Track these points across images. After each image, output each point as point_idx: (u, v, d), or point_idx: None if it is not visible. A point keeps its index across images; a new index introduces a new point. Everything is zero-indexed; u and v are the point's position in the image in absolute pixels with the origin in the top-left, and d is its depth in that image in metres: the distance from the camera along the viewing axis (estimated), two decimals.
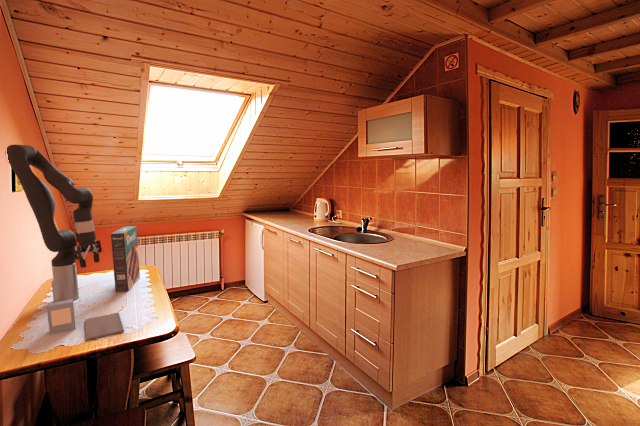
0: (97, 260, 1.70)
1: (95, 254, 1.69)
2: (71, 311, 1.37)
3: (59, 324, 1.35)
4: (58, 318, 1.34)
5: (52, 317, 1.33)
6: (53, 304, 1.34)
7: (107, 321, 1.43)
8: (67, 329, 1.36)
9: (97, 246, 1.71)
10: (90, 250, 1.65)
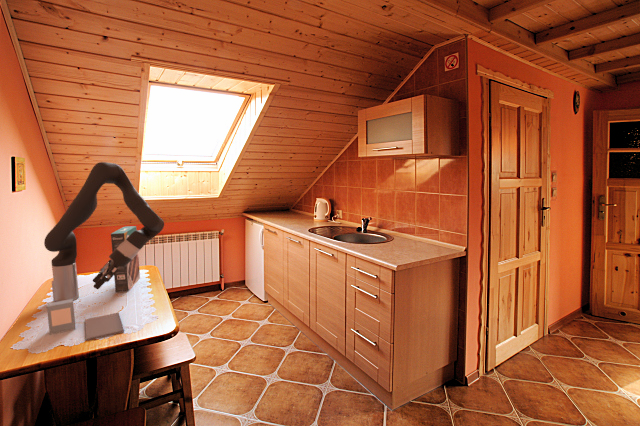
0: (97, 281, 1.46)
1: (101, 274, 1.46)
2: (71, 311, 1.37)
3: (59, 324, 1.35)
4: (58, 318, 1.34)
5: (52, 317, 1.33)
6: (53, 304, 1.34)
7: (107, 321, 1.43)
8: (67, 329, 1.36)
9: None
10: None
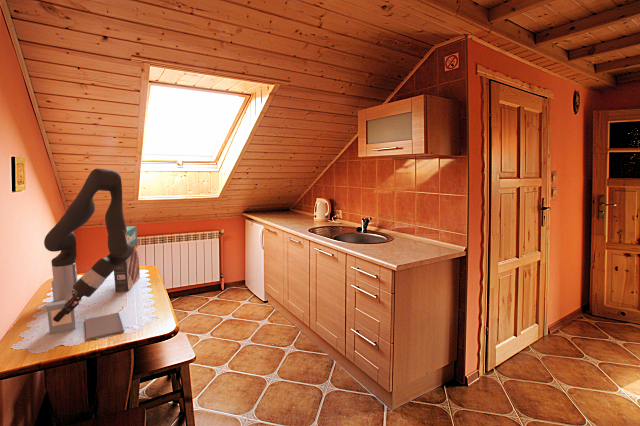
0: None
1: None
2: (71, 311, 1.37)
3: (59, 324, 1.35)
4: None
5: (52, 317, 1.33)
6: (53, 304, 1.34)
7: (107, 321, 1.43)
8: (67, 329, 1.37)
9: None
10: None
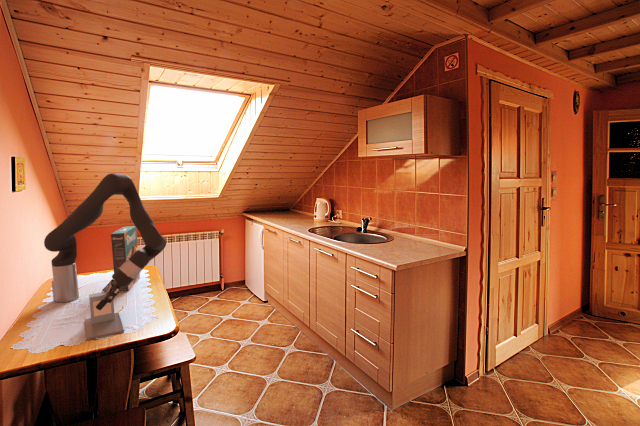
0: None
1: None
2: (111, 302, 1.43)
3: (100, 314, 1.42)
4: None
5: (94, 308, 1.40)
6: (95, 295, 1.41)
7: (107, 321, 1.43)
8: (107, 319, 1.43)
9: None
10: None
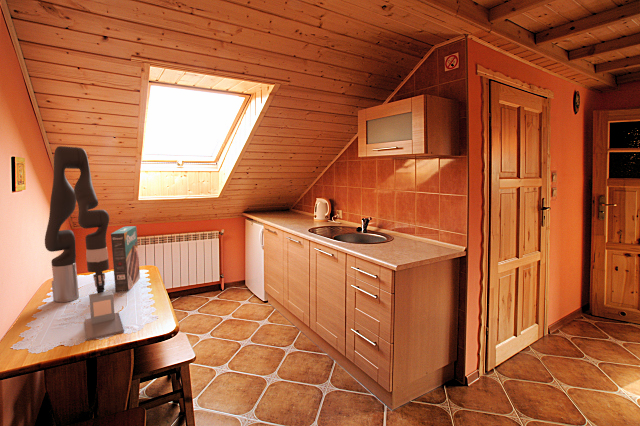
0: None
1: None
2: (111, 303, 1.43)
3: (100, 315, 1.41)
4: (99, 309, 1.41)
5: (94, 308, 1.40)
6: (95, 296, 1.40)
7: (107, 321, 1.43)
8: (107, 319, 1.43)
9: None
10: (102, 280, 1.46)
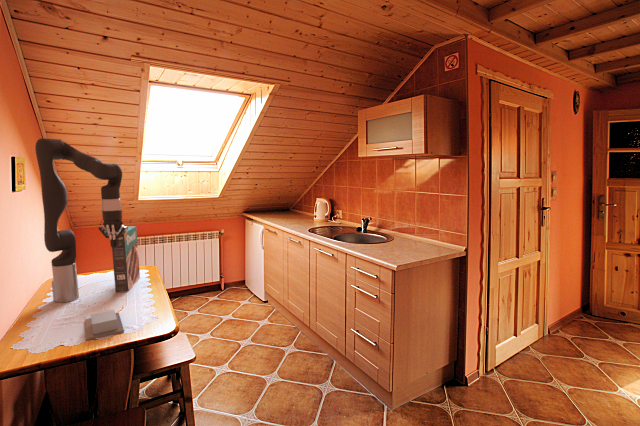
0: None
1: None
2: None
3: None
4: None
5: None
6: (99, 329, 1.32)
7: None
8: None
9: (106, 231, 1.58)
10: None
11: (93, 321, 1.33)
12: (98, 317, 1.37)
